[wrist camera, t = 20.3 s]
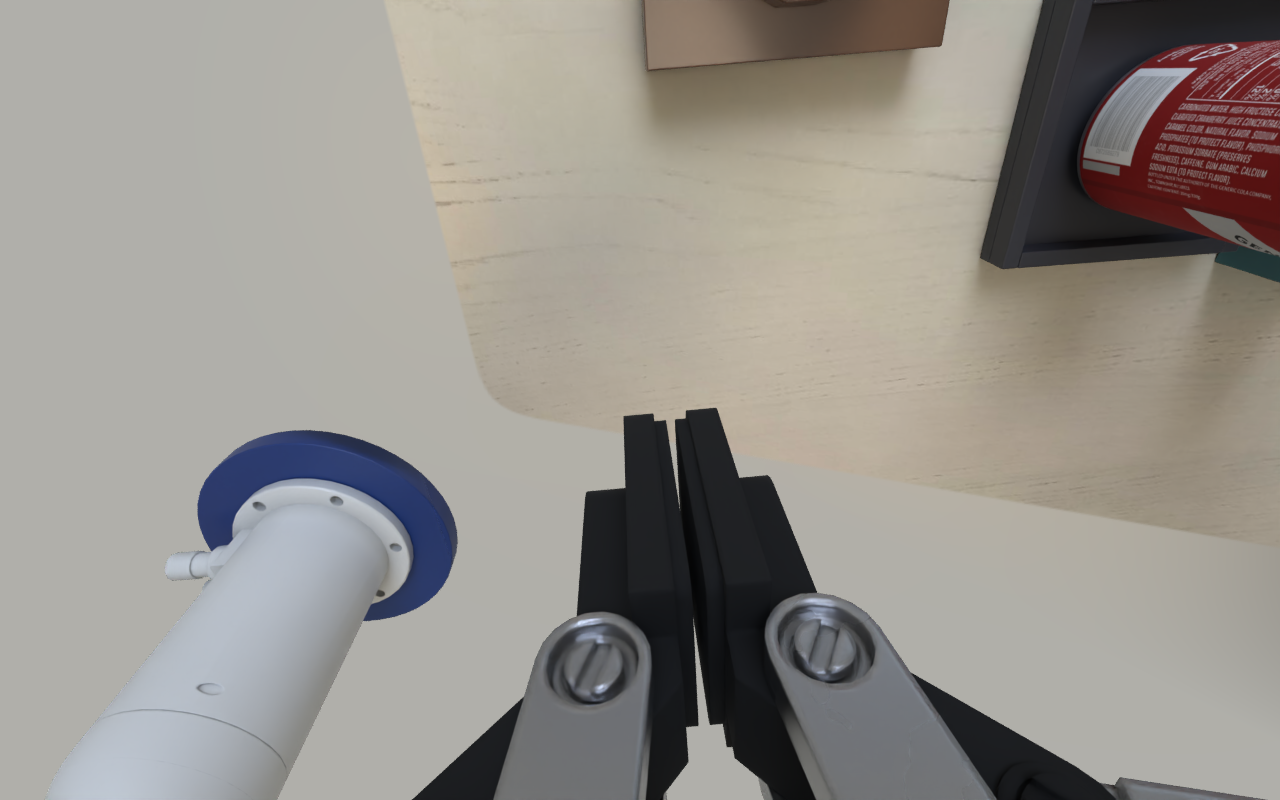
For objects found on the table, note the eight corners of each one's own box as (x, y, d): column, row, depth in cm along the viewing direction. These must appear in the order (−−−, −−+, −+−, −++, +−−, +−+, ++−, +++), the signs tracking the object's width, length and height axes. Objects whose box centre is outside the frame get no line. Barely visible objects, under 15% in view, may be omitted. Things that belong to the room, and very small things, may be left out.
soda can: (1035, 162, 26) (1300, 220, 16) (1163, 10, 23) (1592, -39, 13) (1126, 231, 28) (1418, 325, 18) (1256, 99, 25) (1699, 117, 15)
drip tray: (979, 258, 29) (1001, 269, 28) (1046, -12, 23) (1079, -19, 22) (1201, 241, 29) (1237, 251, 27) (1325, -36, 23) (1381, -45, 21)
